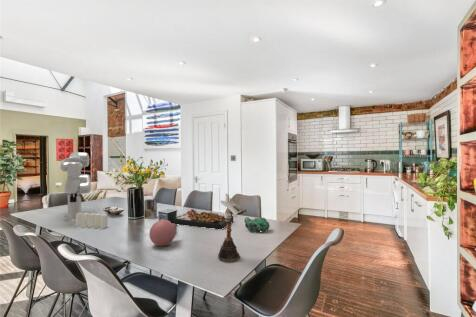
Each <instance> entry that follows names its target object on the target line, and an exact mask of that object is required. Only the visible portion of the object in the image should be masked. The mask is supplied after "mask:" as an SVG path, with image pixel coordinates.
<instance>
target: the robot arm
mask: <svg viewBox="0 0 476 317" xmlns="http://www.w3.org/2000/svg"><path fill="white" fill-rule="evenodd" d="M89 165H90V156H89V153H88V152H86V151H85V152H78V151H77V152H76V151H74V152H70V154H69V156H68V157H66V158H64V159H62V160H61V162H60V166H59V167H60V171H62V172H67V173H66V174H67V175H66V176H67V177H66V179H67V180H66V181H65V188H64V189H65V190H64V191H65V192H64V193H66V195H67V214H66V215H64V217H65V219H64V220H65V221H66V222H74V221H75V222H76V214H77V213H81V212H82V198H81V196H80V195H82V194H89V193H90V192H91V190H92V183H91V182H92V181H91V180H92V178H91V175H90V174H88V173H82V172H81V171H82V169H83V168H86V167H89Z"/></svg>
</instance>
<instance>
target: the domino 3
mask: <svg viewBox="0 0 476 317" xmlns="http://www.w3.org/2000/svg"><path fill="white" fill-rule="evenodd" d="M94 215H96V213H95V212H93V213H89V215H88V227H87V229H92V228H94Z"/></svg>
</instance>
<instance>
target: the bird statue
mask: <svg viewBox="0 0 476 317" xmlns="http://www.w3.org/2000/svg"><path fill="white" fill-rule="evenodd" d="M220 203H221V204H222V205H223V206H225V207H226V208H227V212H226V213H225V215H224V216H225V217H224V218H225V222H227V227H226V229H225V230H226V236H225V237H224V239H223V243H222V244H221V246H220V249H219V251H218V255H217V258H218V261H219V260H220V261H219V262H222V261H223V263H226V262H228V263H236V262H238V259H239V260H240V259H241V255H240V253H239V252H238V250H237V246H236V244H235V243H234V241H233V236H232V228H231V227H232V223H233V222H234V218H237V217H238V216H239V215H242V214H244V213H246V212H247V208H243V207H242V206H240V205H239V204H238V203H237V202H236V201H235V197H234V195H233V196H232V198H231V197H230V196H229V194H228V193H225V199H224V200H220ZM231 222H232V223H231ZM235 261H236V262H235Z"/></svg>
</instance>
